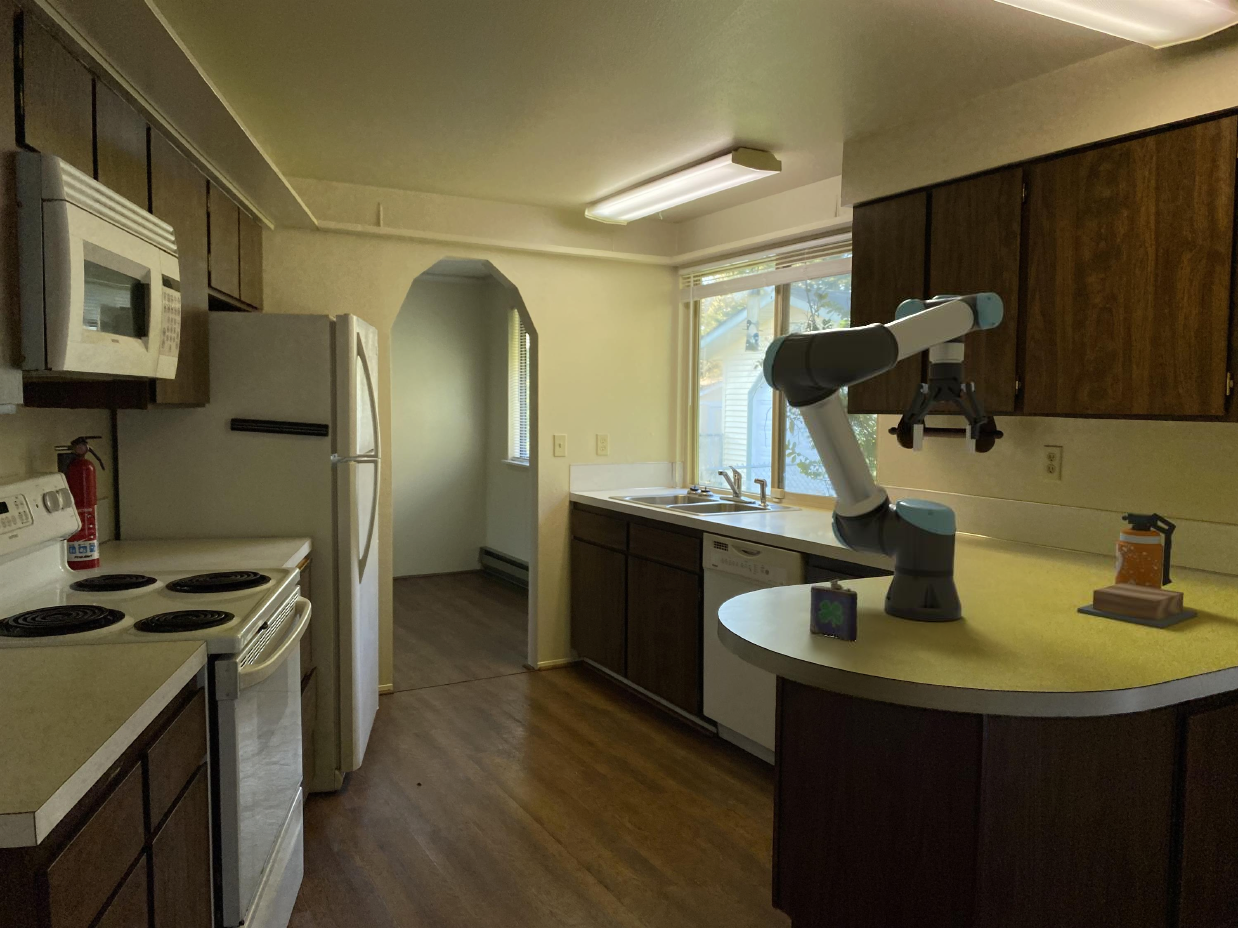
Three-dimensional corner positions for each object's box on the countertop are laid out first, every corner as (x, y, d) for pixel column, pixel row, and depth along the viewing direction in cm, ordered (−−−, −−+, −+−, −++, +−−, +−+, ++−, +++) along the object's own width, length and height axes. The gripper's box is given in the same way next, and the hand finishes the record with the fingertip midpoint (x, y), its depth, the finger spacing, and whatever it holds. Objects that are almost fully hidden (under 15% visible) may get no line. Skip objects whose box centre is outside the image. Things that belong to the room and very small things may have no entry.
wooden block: (1155, 620, 161) (1156, 601, 161) (1092, 608, 171) (1093, 590, 170) (1182, 611, 169) (1183, 592, 169) (1121, 600, 179) (1122, 582, 179)
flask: (807, 632, 152) (808, 576, 152) (814, 629, 154) (816, 574, 154) (852, 642, 146) (854, 584, 145) (860, 639, 148) (862, 581, 147)
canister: (1113, 593, 190) (1118, 509, 189) (1170, 599, 185) (1175, 512, 183) (1114, 600, 183) (1118, 512, 181) (1173, 606, 177) (1178, 516, 176)
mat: (1162, 628, 158) (1162, 624, 158) (1077, 611, 171) (1077, 608, 171) (1197, 615, 169) (1197, 611, 169) (1114, 601, 182) (1114, 597, 182)
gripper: (1006, 360, 182) (1002, 454, 183) (909, 365, 202) (906, 449, 203) (988, 359, 178) (984, 455, 179) (891, 364, 198) (888, 450, 199)
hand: (943, 452), depth 191 cm, fingers open, 13 cm apart
